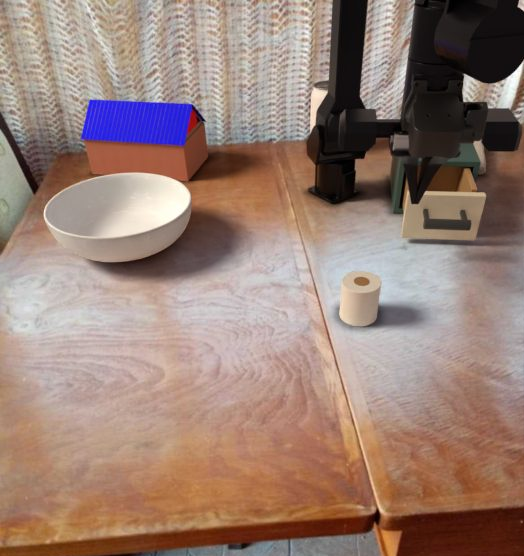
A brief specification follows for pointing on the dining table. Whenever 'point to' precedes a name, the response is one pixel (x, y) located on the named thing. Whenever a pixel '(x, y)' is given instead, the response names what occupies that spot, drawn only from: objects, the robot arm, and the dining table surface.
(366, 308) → the toilet paper roll
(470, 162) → the cabinet
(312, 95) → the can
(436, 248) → the dining table surface
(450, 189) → the drawer
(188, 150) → the house
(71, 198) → the serving bowl
